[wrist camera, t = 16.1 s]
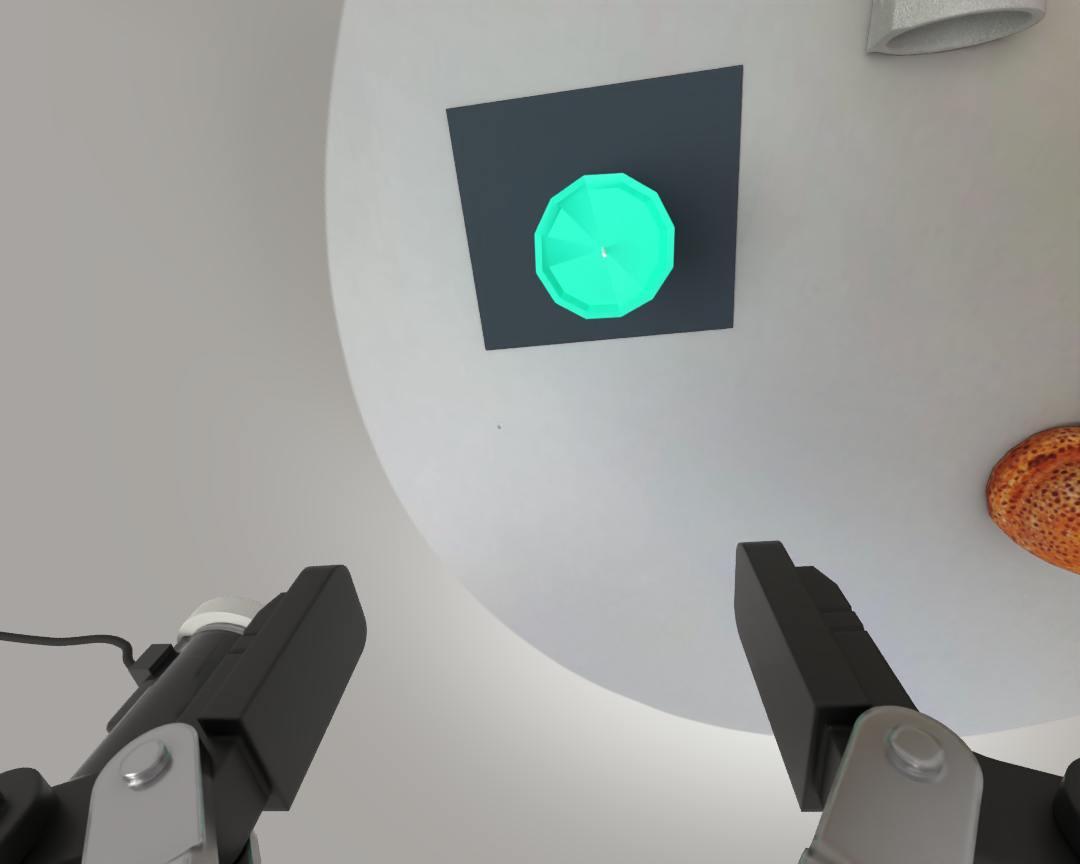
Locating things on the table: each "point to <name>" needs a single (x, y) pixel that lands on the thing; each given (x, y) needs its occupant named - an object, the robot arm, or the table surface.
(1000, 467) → the figurine
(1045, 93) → the table surface
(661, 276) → the candle
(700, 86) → the mat
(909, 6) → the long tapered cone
